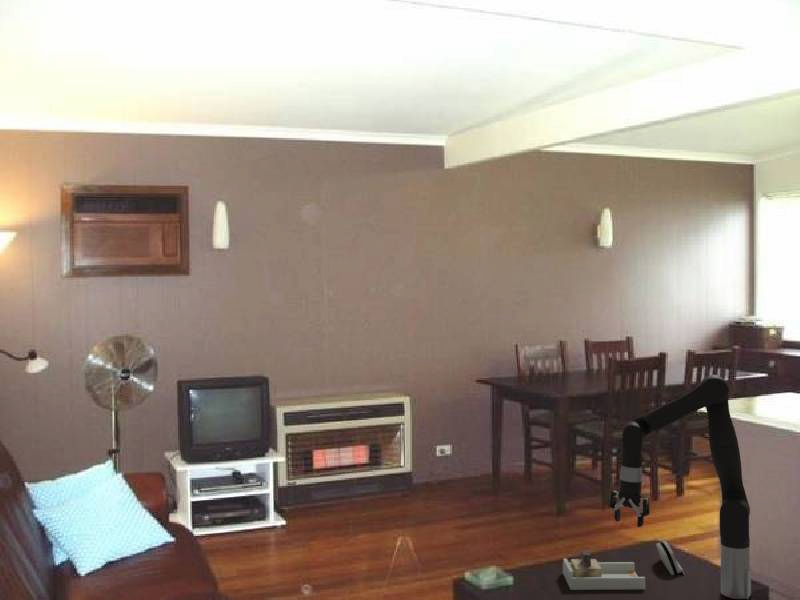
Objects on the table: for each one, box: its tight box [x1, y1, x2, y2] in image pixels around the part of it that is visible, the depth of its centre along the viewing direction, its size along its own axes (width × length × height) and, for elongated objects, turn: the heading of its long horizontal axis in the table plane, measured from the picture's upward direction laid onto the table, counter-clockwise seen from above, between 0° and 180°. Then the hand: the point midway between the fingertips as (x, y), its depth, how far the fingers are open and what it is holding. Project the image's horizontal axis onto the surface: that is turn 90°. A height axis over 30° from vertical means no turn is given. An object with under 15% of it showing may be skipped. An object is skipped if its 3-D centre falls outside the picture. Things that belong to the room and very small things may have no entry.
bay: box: [562, 557, 646, 591], centre depth 299 cm, size 26×16×6 cm, turn 88°
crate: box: [570, 550, 602, 577], centre depth 299 cm, size 9×10×9 cm
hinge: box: [655, 540, 686, 576], centre depth 312 cm, size 17×5×10 cm, turn 175°
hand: (628, 523), depth 296 cm, fingers open, 8 cm apart
